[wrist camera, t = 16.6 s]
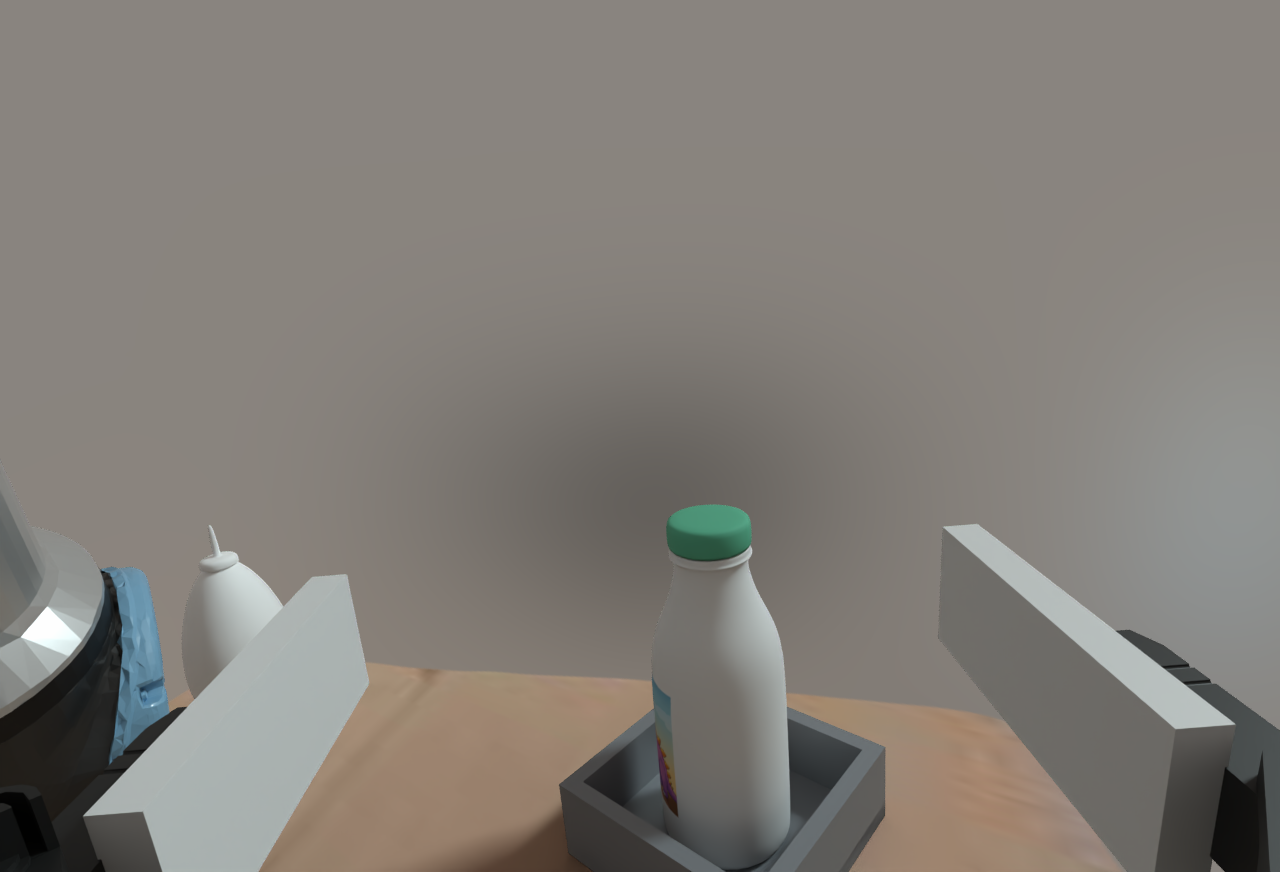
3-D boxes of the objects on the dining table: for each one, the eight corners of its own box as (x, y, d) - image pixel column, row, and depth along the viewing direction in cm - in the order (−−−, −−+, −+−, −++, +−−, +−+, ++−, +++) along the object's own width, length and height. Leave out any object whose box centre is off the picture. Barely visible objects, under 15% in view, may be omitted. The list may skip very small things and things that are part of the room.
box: (568, 852, 42) (559, 784, 41) (704, 729, 52) (700, 671, 51) (765, 999, 33) (761, 916, 32) (884, 815, 43) (885, 747, 42)
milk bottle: (808, 799, 44) (800, 500, 39) (762, 897, 37) (745, 555, 32) (699, 761, 48) (679, 487, 43) (641, 843, 41) (609, 533, 36)
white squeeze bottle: (332, 711, 58) (287, 512, 54) (243, 772, 52) (183, 552, 48) (276, 689, 62) (230, 502, 58) (186, 744, 56) (127, 537, 51)
